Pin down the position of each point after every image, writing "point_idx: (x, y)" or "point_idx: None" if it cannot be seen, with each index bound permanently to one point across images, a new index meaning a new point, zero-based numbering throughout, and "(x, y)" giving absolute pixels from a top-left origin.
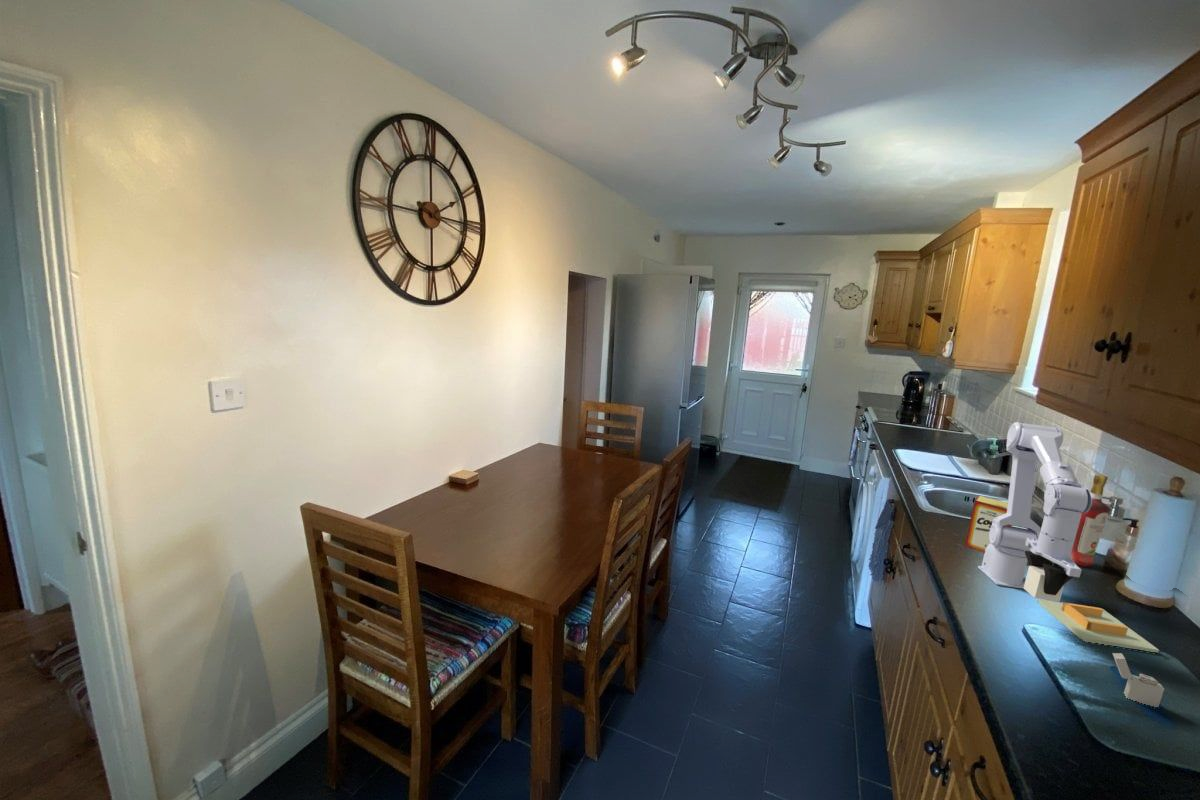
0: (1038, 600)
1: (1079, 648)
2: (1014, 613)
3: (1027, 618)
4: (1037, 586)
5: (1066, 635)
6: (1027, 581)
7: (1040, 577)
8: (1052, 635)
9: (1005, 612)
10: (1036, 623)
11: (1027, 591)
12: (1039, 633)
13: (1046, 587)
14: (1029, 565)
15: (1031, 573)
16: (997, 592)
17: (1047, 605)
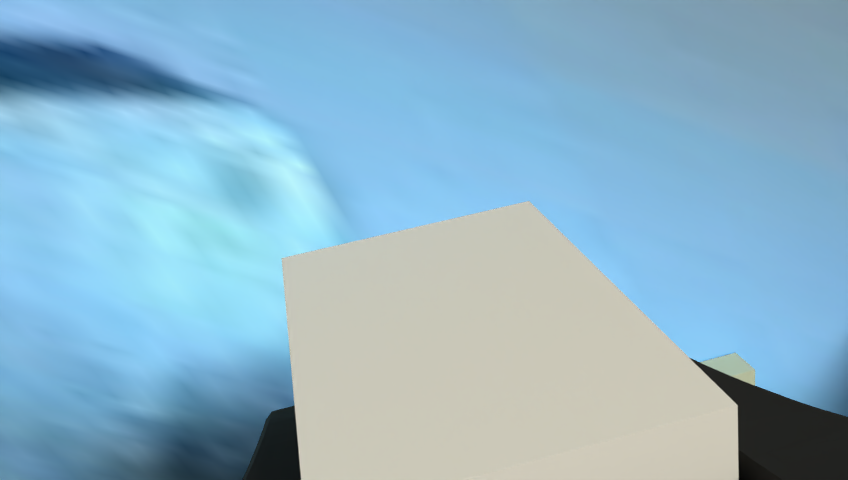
0: (742, 364)
1: (91, 431)
2: (450, 97)
3: (409, 186)
4: (292, 347)
5: (268, 401)
6: (534, 264)
7: (302, 476)
8: (195, 298)
9: (427, 13)
10: (352, 234)
11: (444, 223)
12: (161, 201)
13: (250, 469)
14: (813, 418)
15: (559, 366)
16: (804, 76)
17: None
